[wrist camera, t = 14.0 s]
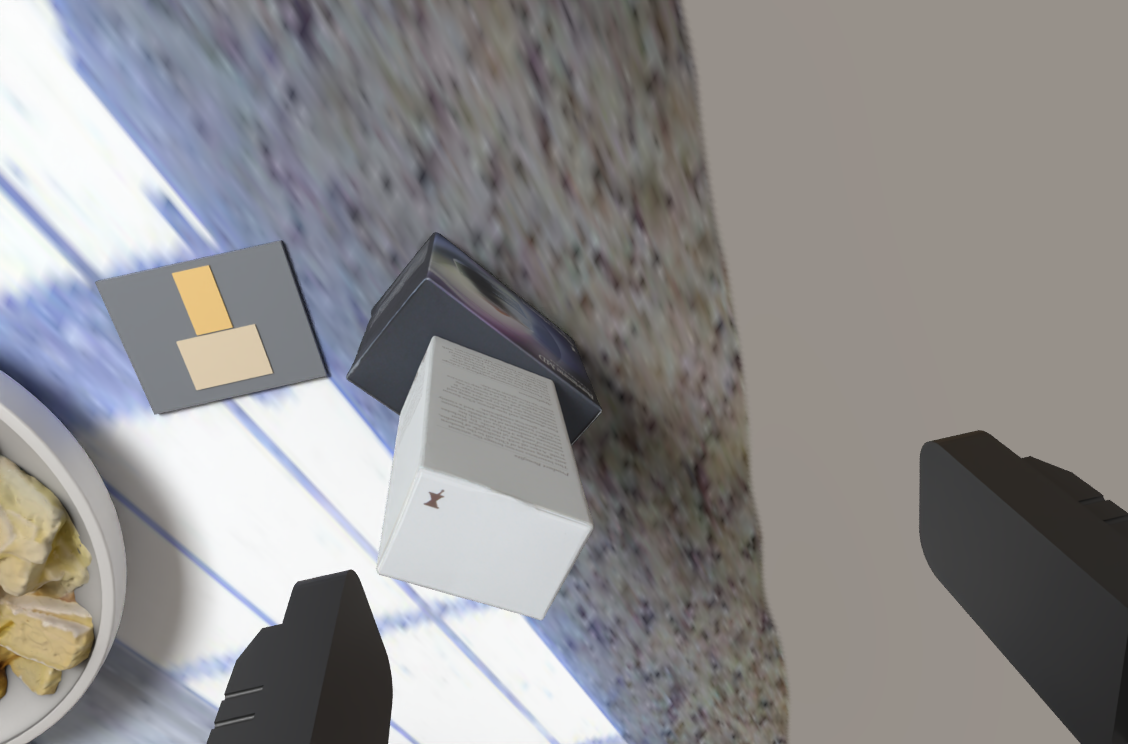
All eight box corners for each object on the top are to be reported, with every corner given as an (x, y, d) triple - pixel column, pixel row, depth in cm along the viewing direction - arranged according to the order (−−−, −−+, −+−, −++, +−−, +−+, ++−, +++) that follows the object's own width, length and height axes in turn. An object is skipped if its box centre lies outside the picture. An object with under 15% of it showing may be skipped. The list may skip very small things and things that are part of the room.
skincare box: (398, 414, 36) (367, 575, 25) (432, 331, 34) (417, 462, 23) (521, 457, 37) (544, 627, 26) (558, 379, 36) (599, 523, 25)
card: (97, 280, 42) (94, 282, 42) (281, 240, 42) (279, 241, 42) (156, 412, 45) (153, 415, 45) (327, 373, 45) (326, 376, 45)
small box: (582, 336, 46) (612, 410, 37) (512, 416, 48) (523, 507, 38) (437, 223, 43) (428, 272, 33) (366, 312, 44) (339, 384, 35)
